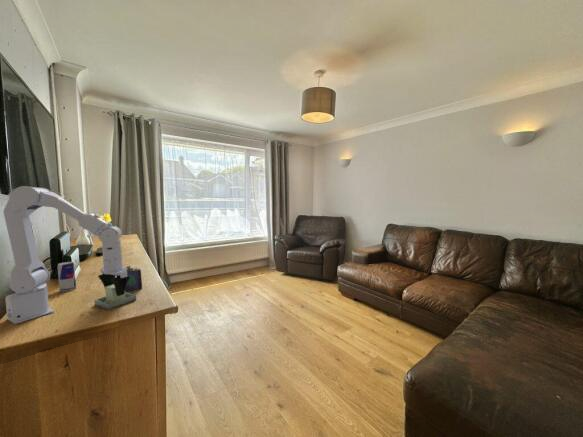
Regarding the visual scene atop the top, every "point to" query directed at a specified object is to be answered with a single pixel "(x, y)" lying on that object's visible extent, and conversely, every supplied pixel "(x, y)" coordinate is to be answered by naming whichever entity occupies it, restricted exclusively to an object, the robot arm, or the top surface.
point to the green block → (113, 294)
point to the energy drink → (66, 276)
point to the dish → (108, 306)
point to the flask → (133, 279)
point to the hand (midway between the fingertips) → (115, 293)
